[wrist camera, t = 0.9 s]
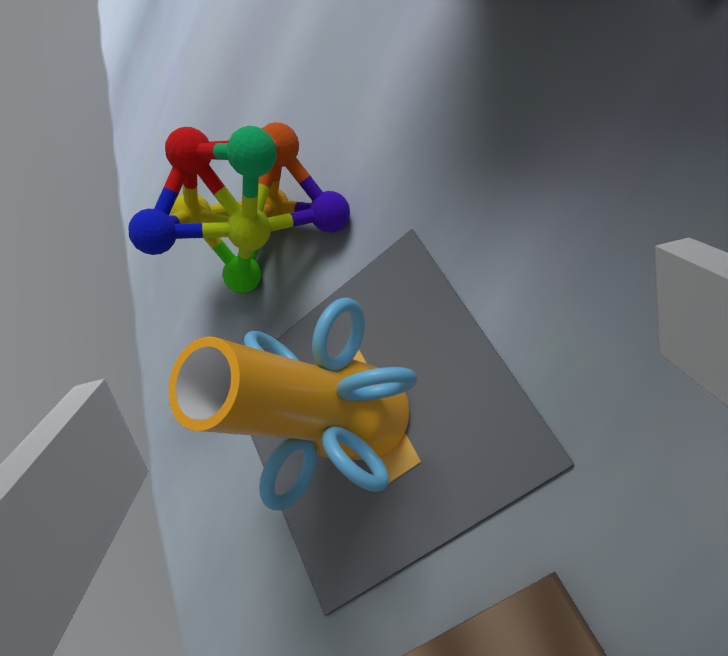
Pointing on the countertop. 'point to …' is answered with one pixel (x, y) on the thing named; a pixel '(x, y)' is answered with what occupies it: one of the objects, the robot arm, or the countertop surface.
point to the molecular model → (247, 218)
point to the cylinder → (297, 401)
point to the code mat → (414, 431)
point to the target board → (521, 627)
